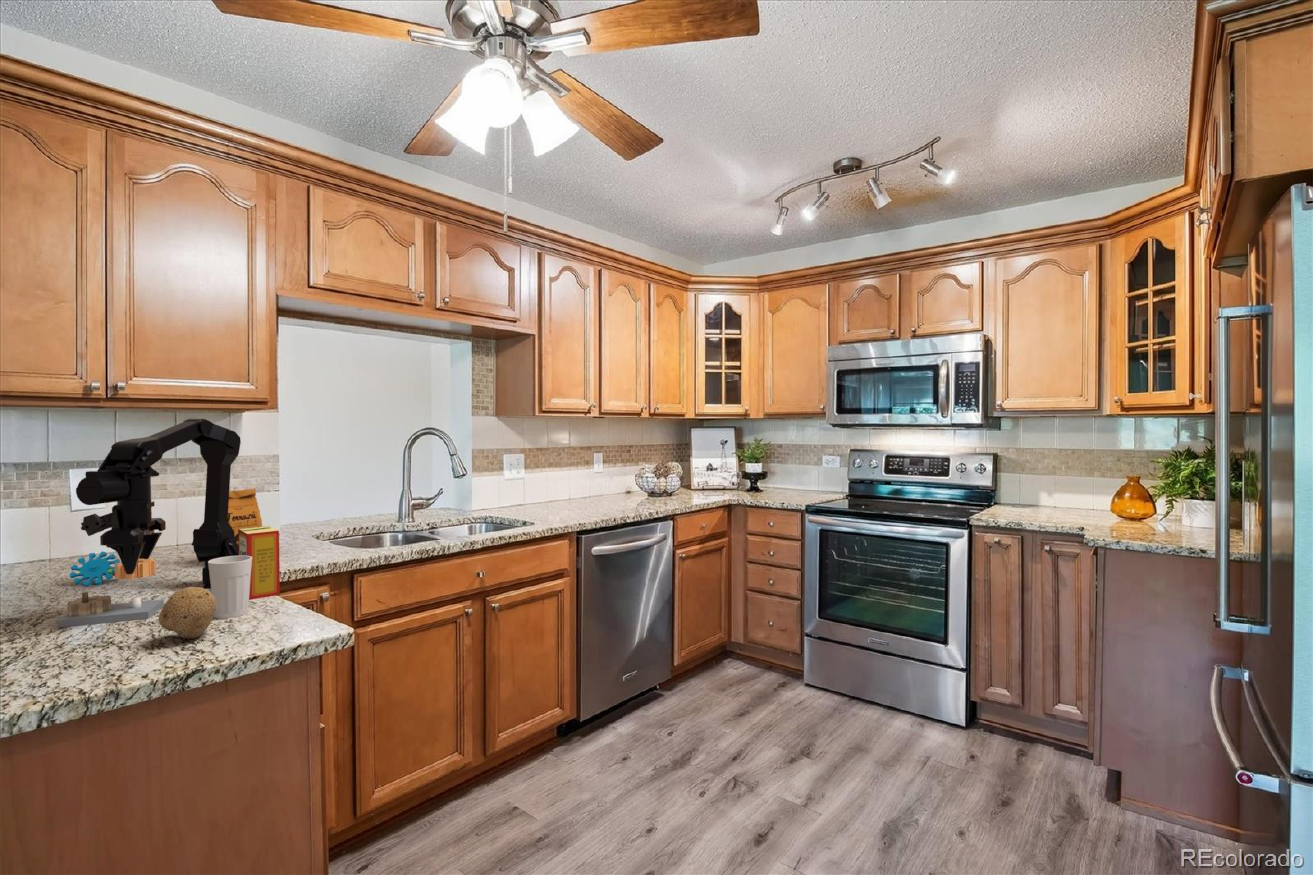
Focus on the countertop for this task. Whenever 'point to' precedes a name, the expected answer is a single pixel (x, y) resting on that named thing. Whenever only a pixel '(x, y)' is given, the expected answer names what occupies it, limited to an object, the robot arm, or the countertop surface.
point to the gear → (94, 569)
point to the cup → (230, 585)
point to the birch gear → (89, 605)
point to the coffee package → (243, 510)
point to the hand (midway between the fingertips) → (136, 570)
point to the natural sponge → (188, 612)
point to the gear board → (116, 613)
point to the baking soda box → (261, 559)
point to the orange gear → (137, 569)
